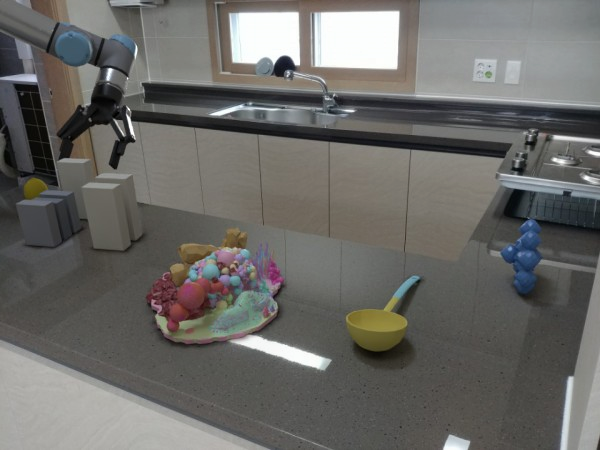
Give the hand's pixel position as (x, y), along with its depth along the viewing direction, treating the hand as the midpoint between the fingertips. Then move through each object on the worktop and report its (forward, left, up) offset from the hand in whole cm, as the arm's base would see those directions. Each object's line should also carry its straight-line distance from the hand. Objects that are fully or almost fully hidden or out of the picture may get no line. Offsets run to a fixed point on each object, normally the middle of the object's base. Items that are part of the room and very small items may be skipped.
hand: (87, 166), depth 128 cm
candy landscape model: (+52, -24, -11) cm, 58 cm away
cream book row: (+19, -13, -11) cm, 25 cm away
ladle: (+81, -18, -11) cm, 84 cm away
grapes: (+98, -1, -11) cm, 99 cm away
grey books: (+3, -16, -11) cm, 20 cm away
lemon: (-14, -4, -11) cm, 19 cm away
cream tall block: (+1, -4, -11) cm, 12 cm away
